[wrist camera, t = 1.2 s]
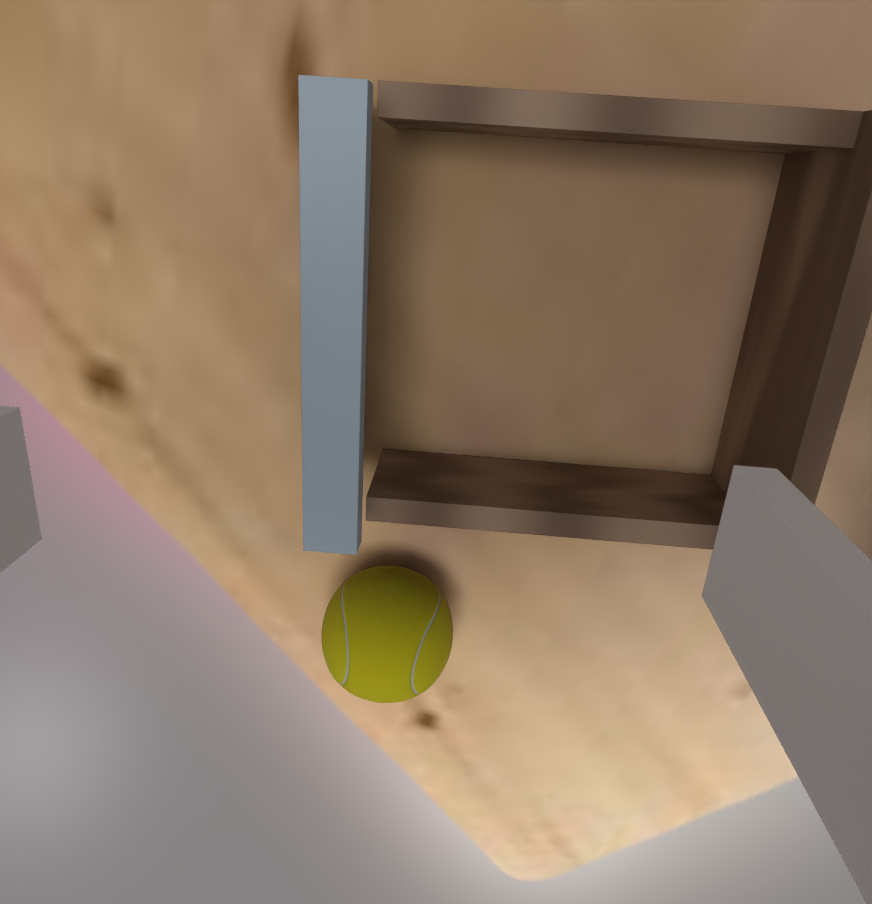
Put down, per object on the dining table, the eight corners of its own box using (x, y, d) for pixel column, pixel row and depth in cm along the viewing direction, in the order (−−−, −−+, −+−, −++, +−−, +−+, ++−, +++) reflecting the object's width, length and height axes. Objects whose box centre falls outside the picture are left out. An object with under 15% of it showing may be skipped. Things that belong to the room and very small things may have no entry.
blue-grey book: (398, 106, 30) (367, 79, 22) (384, 468, 36) (356, 555, 28) (348, 103, 30) (298, 74, 22) (343, 465, 37) (303, 550, 28)
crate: (820, 125, 30) (931, 108, 23) (729, 497, 37) (792, 578, 29) (396, 98, 31) (370, 72, 23) (382, 469, 37) (358, 541, 30)
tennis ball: (332, 637, 42) (305, 722, 35) (338, 536, 39) (310, 607, 33) (447, 652, 42) (442, 739, 35) (461, 551, 39) (458, 625, 33)
